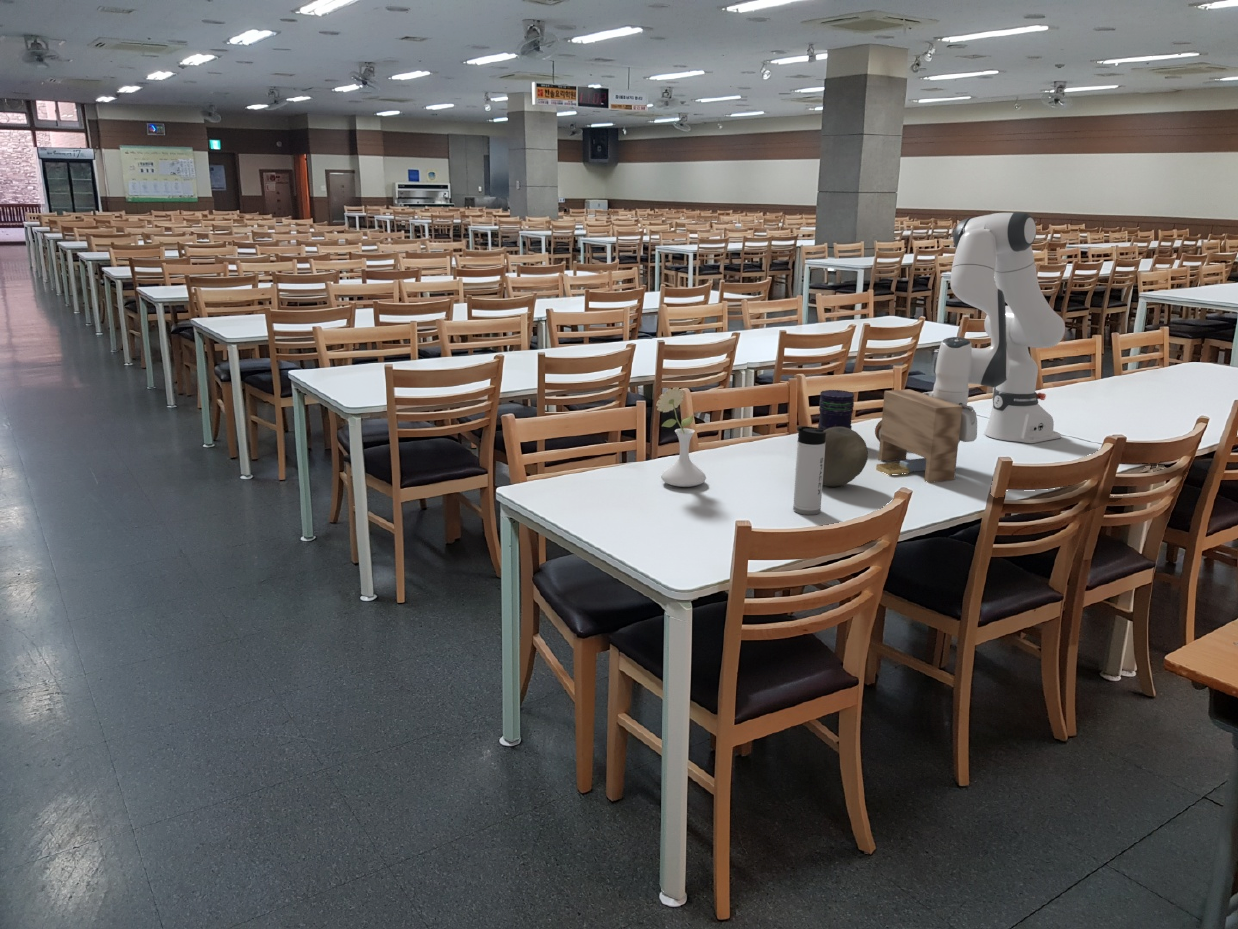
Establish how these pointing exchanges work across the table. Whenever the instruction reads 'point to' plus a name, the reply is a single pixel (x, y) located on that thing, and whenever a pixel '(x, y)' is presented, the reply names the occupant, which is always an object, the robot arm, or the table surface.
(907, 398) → the wooden bridge block
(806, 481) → the travel mug
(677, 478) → the flower in vase
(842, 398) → the storage jar
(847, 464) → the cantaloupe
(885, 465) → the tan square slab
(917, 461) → the blue l-shaped bracket
